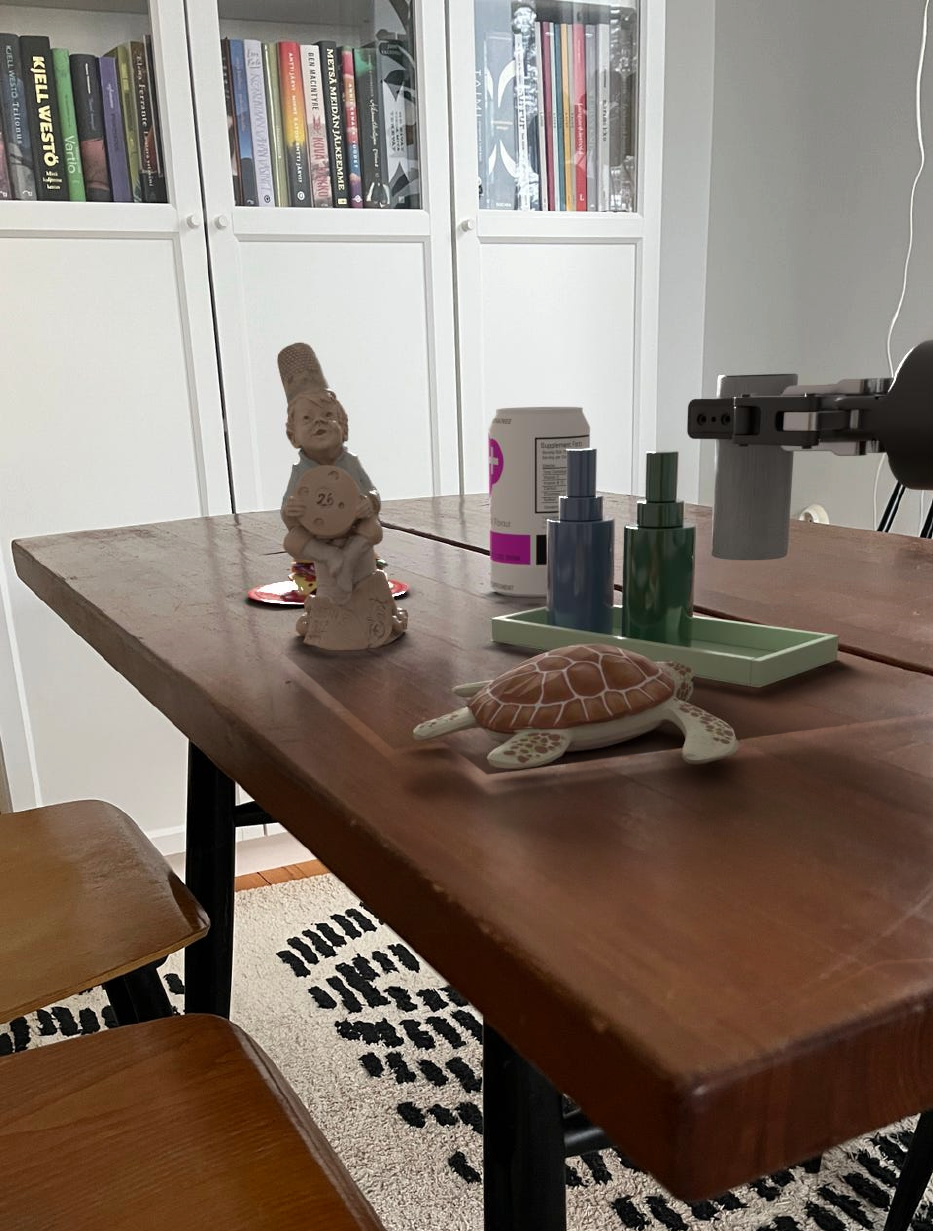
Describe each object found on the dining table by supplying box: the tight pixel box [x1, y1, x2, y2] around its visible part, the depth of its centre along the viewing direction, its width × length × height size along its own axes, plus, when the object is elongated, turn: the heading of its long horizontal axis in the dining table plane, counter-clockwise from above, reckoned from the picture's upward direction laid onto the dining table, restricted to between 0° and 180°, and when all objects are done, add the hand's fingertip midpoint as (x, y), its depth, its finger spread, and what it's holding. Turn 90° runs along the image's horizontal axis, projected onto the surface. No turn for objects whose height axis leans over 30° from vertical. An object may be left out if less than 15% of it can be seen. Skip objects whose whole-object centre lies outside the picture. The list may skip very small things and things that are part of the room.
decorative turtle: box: [412, 644, 740, 770], centre depth 62 cm, size 18×17×5 cm
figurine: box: [276, 341, 409, 651], centre depth 83 cm, size 9×8×20 cm
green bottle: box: [621, 449, 698, 648], centre depth 79 cm, size 5×5×12 cm
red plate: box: [247, 549, 410, 606], centre depth 106 cm, size 14×14×6 cm
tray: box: [491, 604, 840, 688], centre depth 81 cm, size 21×9×2 cm, turn 46°
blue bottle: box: [546, 447, 616, 635], centre depth 83 cm, size 5×5×12 cm
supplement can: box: [487, 406, 591, 598], centre depth 101 cm, size 8×8×15 cm
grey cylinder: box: [710, 373, 799, 561], centre depth 72 cm, size 4×4×10 cm
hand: (716, 416), depth 73 cm, fingers closed on grey cylinder, 4 cm apart
